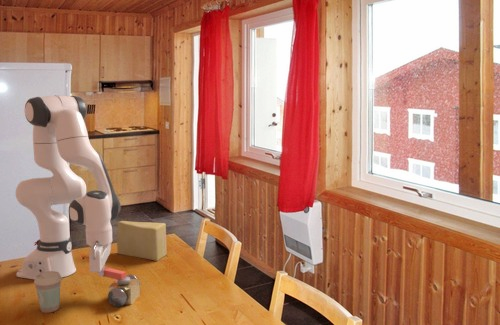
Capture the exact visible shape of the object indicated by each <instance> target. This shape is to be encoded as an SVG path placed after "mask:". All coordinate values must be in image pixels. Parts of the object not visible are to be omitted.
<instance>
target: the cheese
mask: <svg viewBox="0 0 500 325" xmlns="http://www.w3.org/2000/svg"><path fill="white" fill-rule="evenodd" d="M116 247H117V249H116V250H117V254H118V255H124V256H129V257H136V258H141V259H146V260H150V261H156V262H158V261H160V260H161V259H163V258H164V257H165V256H166V255H167V252H168V251H167V250H168V248H167V226H166V223H165V222H151V221H149V222H147V221H146V222H145V221H144V222H143V221H142V222H141V221H129V220H128V221H127V220H120V221H117V224H116Z"/></svg>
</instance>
